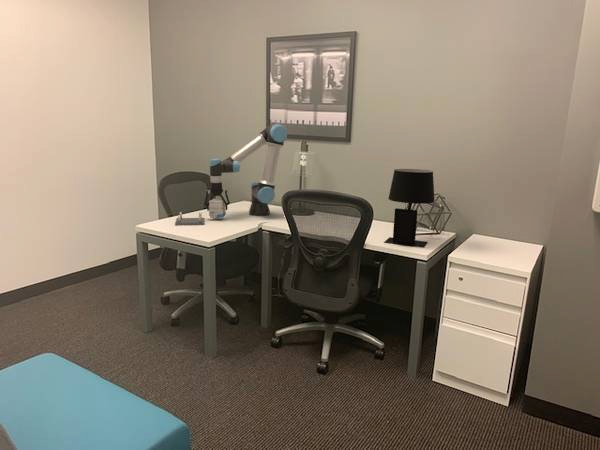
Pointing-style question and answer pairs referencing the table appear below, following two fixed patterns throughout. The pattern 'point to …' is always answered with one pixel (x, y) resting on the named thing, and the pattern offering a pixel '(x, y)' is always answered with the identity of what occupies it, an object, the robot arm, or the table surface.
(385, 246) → the table surface
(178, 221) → the chassis
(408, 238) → the table lamp
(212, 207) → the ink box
